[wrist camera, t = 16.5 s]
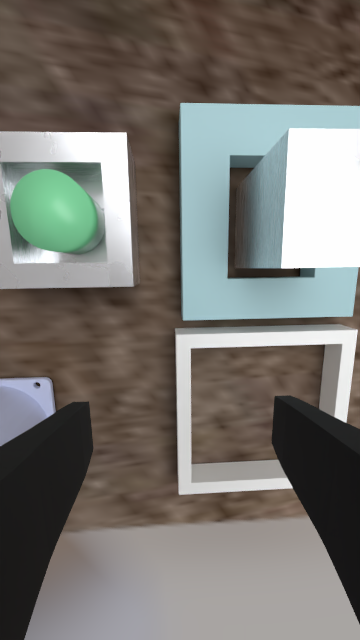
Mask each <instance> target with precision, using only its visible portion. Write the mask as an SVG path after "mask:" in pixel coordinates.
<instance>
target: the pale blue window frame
mask: <svg viewBox="0 0 360 640" xmlns="http://www.w3.org/2000/svg"><path fill="white" fill-rule="evenodd" d="M288 129H360V106H322V105H264V104H206V103H180V114H179V174H180V250H181V316H182V319H183V320H221V319H262V318H303V317H344V316H353V308H354V299H355V291H356V282H357V274H358V267H314V268H300V277H247V278H227V273H228V226H229V179H230V168H255V166H256V165H257V164H258V163H259V162H260V161H261V160H262V159H263V157H264V156H265V155H266V154H267V153H268V152H269V151H270V150H271V148H272V147H273V146H274V145H275V144H276V143H277V142H278V141H279V139H280V138H281V137H282V136H283V135H284V134H285V133H286V131H287V130H288Z"/></svg>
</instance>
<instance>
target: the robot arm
mask: <svg viewBox="0 0 360 640" xmlns="http://www.w3.org/2000/svg"><path fill="white" fill-rule="evenodd" d="M36 382H38V383H40V386H37V385H36ZM272 445H273V447H274V450H275V452H276V455H277V457H278V460H279V462H280V465H281V467H282V469H283V471H284V473H285V475H286V476H287V478H288V480H289V482H290V484H291V485H292V487H293V489H294V491H295V493H296V494H297V496H298V498H299V500H300V501H301V503H302V505H303V507H304V509H305V510H306V512H307V514H308V516H309V517H310V519H311V521H312V523H313V524H314V526H315V528H316V530H317V532H318V534H319V536H320V537H321V539H322V541H323V543H324V545H325V547H326V549H327V552H328V554H329V556H330V558H331V560H332V562H333V565H334V567H335V569H336V571H337V573H338V576H339V578H340V580H341V582H342V585H343V587H344V589H345V591H346V594H347V596H348V598H349V601H350V603H351V605H352V607H353V610H354V612H355V615H356V616H357V619H358V621H359V624H360V429H358V428H356V427H354V426H352V425H350V424H347V423H345V422H343V421H341V420H339V419H337V418H335V417H333V416H331V415H329V414H327V413H326V412H324V411H322V410H320V409H318V408H316V407H314V406H312V405H310V404H308V403H306V402H304V401H302V400H300V399H297V398H295V397H292V396H275V400H274V415H273V430H272ZM92 452H93V440H92V429H91V419H90V408H89V402H72V403H70V404H68V405H67V406H65V407H63V408H62V409H60V410H58V411H57V412H56V409H55V401H54V392H53V384H52V381H51V379H50V378H48V377H33V378H4V379H0V640H24V638H25V635H26V632H27V629H28V625H29V622H30V619H31V616H32V613H33V610H34V607H35V603H36V600H37V597H38V594H39V591H40V588H41V585H42V582H43V579H44V576H45V574H46V570H47V568H48V564H49V562H50V559H51V556H52V554H53V551H54V549H55V546H56V543H57V541H58V539H59V536H60V534H61V532H62V530H63V527H64V525H65V523H66V520H67V518H68V516H69V513H70V511H71V509H72V506H73V504H74V502H75V499H76V497H77V495H78V492H79V490H80V488H81V485H82V483H83V481H84V478H85V476H86V473H87V469H88V466H89V463H90V459H91V455H92Z"/></svg>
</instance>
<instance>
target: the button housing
mask: <svg viewBox="0 0 360 640" xmlns="http://www.w3.org/2000/svg"><path fill="white" fill-rule="evenodd" d="M40 169H51V170H56V171H59V172H62V173H64V174H66V175H68V176H69V177H70V178H72V179H73V180H74V181H75V182H76V183H77V184H78V185H80V186H81V187H82V188H83V189H84V190H85V191H86V192H87V193H88V194H89V195H90V196H91V197H92V198H93V199H94V200H95V201H96V202H97V203H98V205H99V206H100V208H101V210H102V212H103V215H104V220H105V229H104V234H103V237H102V239H101V241H100V242H99V244H98V245H97V246H96V247H95V248H94V249H92V250H91V251H89V252H86V253H83V254H68V253H61V252H54V251H48V250H43V249H40V248H38V247H36V246H34V245H32V244H30V243H29V242H28V241H27V240H25V239H24V238H23V237H22V235H21V234H20V233H19V232H18V230H17V228H16V227H15V225H14V222H13V219H12V216H11V210H10V201H11V196H12V193H13V190H14V188H15V186H16V185H17V183H18V182H19V181H20V180H21V179H22V178H23V177H24V176H25V175H27V174H29V173H30V172H33V171H36V170H40ZM139 283H140V268H139V245H138V222H137V199H136V176H135V162H134V158H133V155H132V151H131V148H130V145H129V141H128V138H127V134H126V133H81V132H0V289H21V288H77V287H133V286H135V285H137V284H139Z"/></svg>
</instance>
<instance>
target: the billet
mask: <svg viewBox="0 0 360 640" xmlns="http://www.w3.org/2000/svg"><path fill="white" fill-rule="evenodd" d="M314 267H360V129H288V130H287V131H286V133H285V134H284V135H283V136H282V137H281V138H280V139H279V141H278V142H277V143H276V144H275V145H274V146H273V147H272V148H271V150H270V151H269V152H268V153H267V154H266V155H265V156H264V157H263V159H262V160H261V161H260V162H259V163H258V164H257V165H256V166H255V168H254V169H253V170H252V171H251V172H250V173H249V174H248V175H247V177H246V178H245V179H244V180H243V181H242V182H241V183H240V184H239V186H238V187H237V188H236V229H235V268H314Z"/></svg>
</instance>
